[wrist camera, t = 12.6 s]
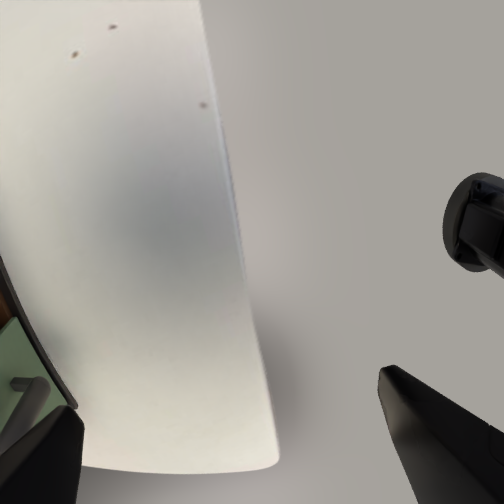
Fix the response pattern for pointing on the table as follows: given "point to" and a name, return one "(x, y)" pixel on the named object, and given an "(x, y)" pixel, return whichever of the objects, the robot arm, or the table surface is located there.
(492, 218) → the robot arm
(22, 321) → the cupboard
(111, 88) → the table surface
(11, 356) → the sliding door
